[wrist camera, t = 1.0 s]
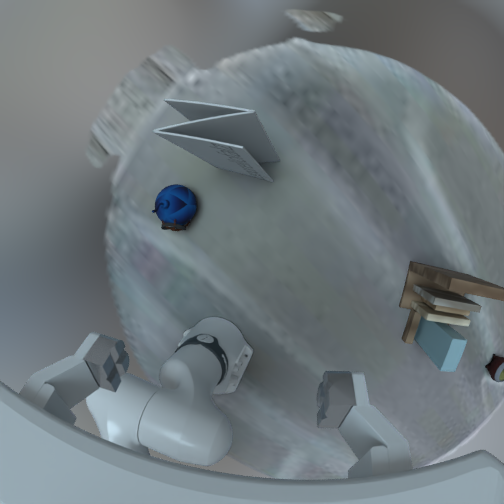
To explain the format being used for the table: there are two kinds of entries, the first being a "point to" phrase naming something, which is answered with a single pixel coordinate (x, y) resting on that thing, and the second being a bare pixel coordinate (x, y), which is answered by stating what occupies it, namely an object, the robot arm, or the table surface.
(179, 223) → the bomb
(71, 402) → the robot arm
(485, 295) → the offcut rack
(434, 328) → the light blue tall block
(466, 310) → the offcut stack
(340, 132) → the table surface
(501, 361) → the mate gourd
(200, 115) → the brochure
